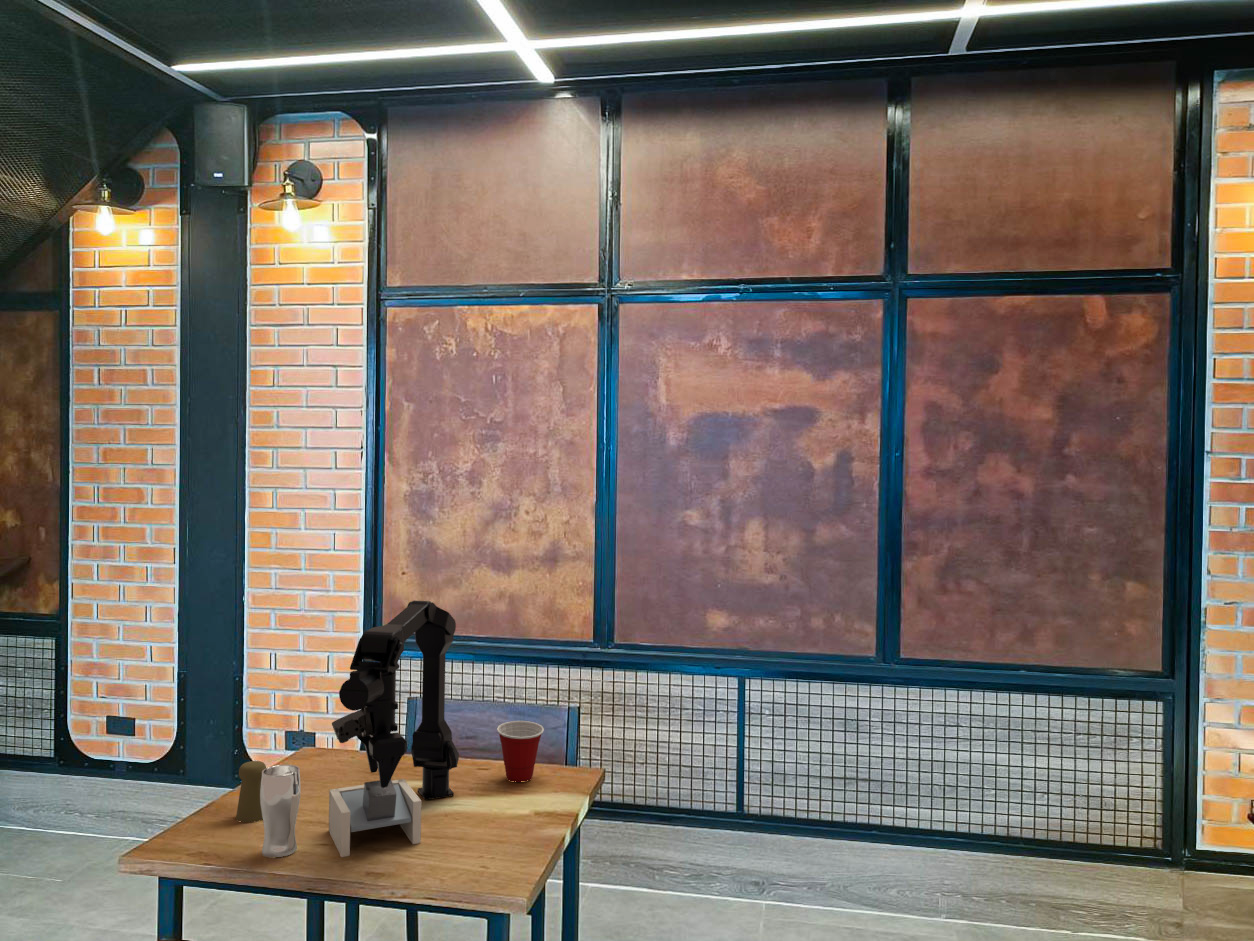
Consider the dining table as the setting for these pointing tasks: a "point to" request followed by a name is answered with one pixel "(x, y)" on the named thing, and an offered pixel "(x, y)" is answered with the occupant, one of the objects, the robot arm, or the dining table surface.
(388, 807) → the block
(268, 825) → the beer glass
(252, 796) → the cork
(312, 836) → the dining table surface
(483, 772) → the dining table surface
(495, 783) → the dining table surface
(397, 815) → the trapdoor
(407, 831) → the white step stool
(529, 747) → the plastic cup
